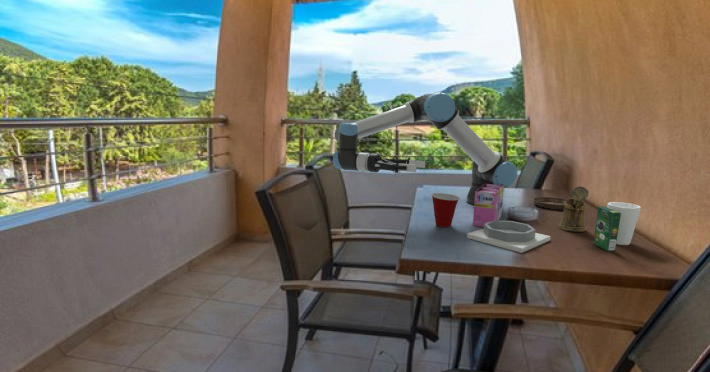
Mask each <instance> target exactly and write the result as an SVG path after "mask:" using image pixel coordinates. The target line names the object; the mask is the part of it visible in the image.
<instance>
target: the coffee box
mask: <svg viewBox="0 0 710 372" xmlns="http://www.w3.org/2000/svg"><path fill="white" fill-rule="evenodd" d="M620 217H621V213H620V212H617V211H615V210H612V209H610V208H607V206H598V207H597V213H596V222H595V229H594V237H593V245H595V246H596V247H599V248H601V249H602V250H604V251H606V252H611V253H612V252H616V248H617V247H616V246H617V244H616V242H617V236H618V229H619V223H620Z"/></svg>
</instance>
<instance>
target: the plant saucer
mask: <svg viewBox="0 0 710 372" xmlns="http://www.w3.org/2000/svg"><path fill="white" fill-rule="evenodd" d="M566 200H567V199H566V198H558V197H552V196H551V197H549V196H539V197H534V198H532V201H533V202H534V204H535V205H536V206H537V205H538V206H537V207H539V206H540V208H543V207H544V209H548V208H550V209H549V210H564V208H565V207H564V205H565V203H566ZM542 202H553V203H559V204H553V203H550V204H549V203H542Z"/></svg>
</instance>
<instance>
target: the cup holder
mask: <svg viewBox="0 0 710 372" xmlns="http://www.w3.org/2000/svg"><path fill="white" fill-rule="evenodd" d="M466 238H467V239H468V240H469V239H470V240H474V241H478V242H480V243H484V244H489V245H491V246H496V247H500V248H503V249H505V250H509V251H514V252H517V253H525V252H527V251H529V250H531V249H534V248H537V247H539V246H541V245H543V244H545V243H547V242H550V241H551V236H550V235H546V234H543V233H542V234H541V233H537V231H536V229H535V228H534V227H533V226H531V224H528V223H523V222H517V221H513V220H498V221H491V222H487V223H484V227H483V228H481V229H477V230H474V231H472V232H471V231H470V232H468V233H466Z"/></svg>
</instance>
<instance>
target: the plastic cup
mask: <svg viewBox="0 0 710 372" xmlns="http://www.w3.org/2000/svg"><path fill="white" fill-rule="evenodd" d="M431 197H432V205H433V215H434V221H435V225H436V226H437V227H440V228H449V227H451V226H452V224H453V219H454V216H455V213H456V212H455V211H456V208H457V204H458V202H459V200H460V199H461V197H460V196H458V195H455V194H452V193H446V192H445V193H444V192H432V193H431Z"/></svg>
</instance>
